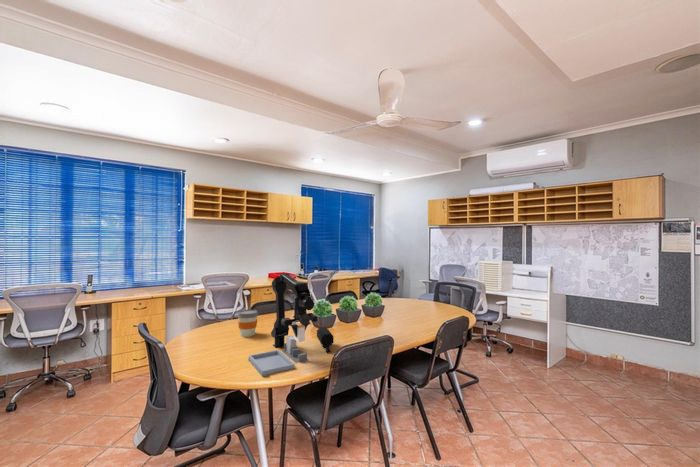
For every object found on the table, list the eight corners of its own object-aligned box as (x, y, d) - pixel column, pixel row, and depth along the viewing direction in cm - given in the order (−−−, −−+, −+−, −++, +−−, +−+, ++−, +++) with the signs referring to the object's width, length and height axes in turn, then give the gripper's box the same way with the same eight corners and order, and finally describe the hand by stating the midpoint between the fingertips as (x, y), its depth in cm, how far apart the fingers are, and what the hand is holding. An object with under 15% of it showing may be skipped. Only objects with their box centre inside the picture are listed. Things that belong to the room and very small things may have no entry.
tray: (248, 360, 169) (248, 355, 169) (278, 354, 177) (278, 349, 177) (262, 376, 149) (262, 371, 149) (294, 369, 158) (294, 364, 158)
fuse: (286, 350, 181) (286, 336, 181) (291, 349, 183) (292, 335, 183) (290, 354, 176) (290, 339, 176) (296, 353, 178) (296, 338, 178)
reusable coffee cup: (260, 332, 217) (260, 309, 217) (253, 338, 204) (253, 314, 204) (242, 331, 218) (242, 309, 218) (234, 337, 206) (234, 313, 206)
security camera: (322, 354, 178) (322, 336, 178) (316, 343, 195) (316, 327, 195) (334, 353, 180) (334, 335, 180) (327, 342, 197) (327, 326, 197)
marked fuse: (294, 339, 172) (294, 324, 172) (300, 338, 174) (300, 323, 174) (298, 342, 167) (298, 326, 167) (304, 341, 169) (304, 325, 169)
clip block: (281, 351, 182) (281, 344, 182) (294, 348, 186) (294, 341, 186) (295, 364, 164) (295, 356, 164) (310, 361, 168) (310, 353, 168)
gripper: (288, 311, 159) (288, 343, 159) (322, 307, 169) (322, 337, 169) (280, 307, 168) (280, 337, 168) (313, 303, 178) (312, 332, 178)
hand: (299, 336), depth 170 cm, fingers closed on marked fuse, 3 cm apart
